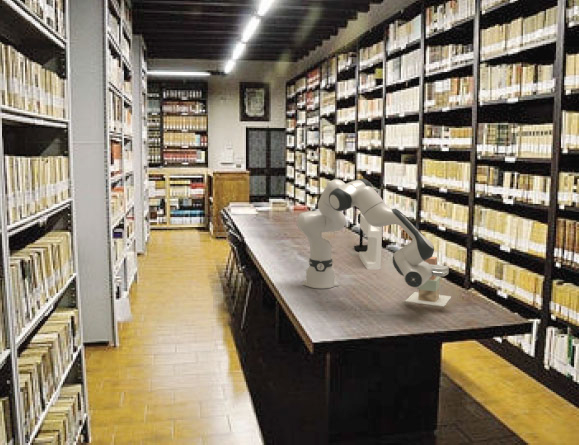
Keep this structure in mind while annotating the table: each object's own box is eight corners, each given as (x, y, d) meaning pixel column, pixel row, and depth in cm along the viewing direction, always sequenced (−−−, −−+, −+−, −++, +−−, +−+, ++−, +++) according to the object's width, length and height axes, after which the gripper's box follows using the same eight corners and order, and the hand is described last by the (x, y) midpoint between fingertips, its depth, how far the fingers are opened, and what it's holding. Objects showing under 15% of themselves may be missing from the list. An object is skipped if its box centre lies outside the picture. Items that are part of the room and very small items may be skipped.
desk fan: (383, 254, 370) (385, 201, 365) (357, 254, 370) (358, 201, 365) (376, 246, 397) (378, 197, 392) (352, 246, 396) (353, 197, 391)
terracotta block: (423, 278, 262) (423, 257, 261) (425, 276, 266) (426, 256, 265) (433, 280, 260) (434, 259, 258) (435, 277, 264) (436, 257, 263)
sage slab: (418, 289, 262) (419, 279, 261) (422, 285, 269) (423, 275, 268) (435, 291, 259) (436, 281, 258) (439, 287, 266) (439, 277, 265)
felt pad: (405, 301, 261) (405, 300, 261) (414, 292, 277) (414, 291, 277) (444, 307, 253) (444, 306, 253) (451, 297, 269) (451, 296, 269)
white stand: (380, 269, 326) (382, 222, 322) (367, 269, 326) (368, 222, 322) (371, 257, 361) (372, 214, 357) (359, 256, 361) (360, 214, 357)
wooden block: (418, 299, 263) (418, 289, 262) (422, 295, 270) (422, 285, 269) (435, 301, 259) (435, 291, 259) (438, 297, 266) (439, 287, 266)
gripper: (446, 267, 242) (452, 261, 254) (399, 262, 251) (407, 256, 263) (445, 281, 243) (451, 274, 255) (399, 276, 252) (407, 269, 264)
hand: (428, 265), depth 259 cm, fingers open, 8 cm apart
